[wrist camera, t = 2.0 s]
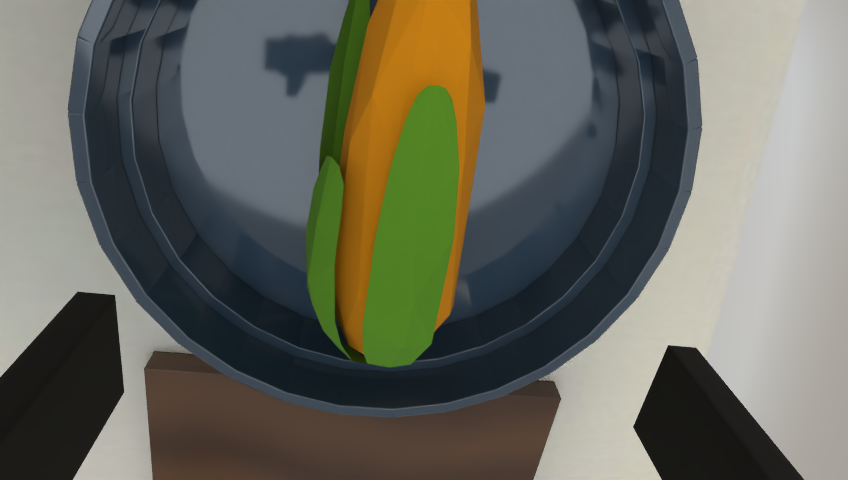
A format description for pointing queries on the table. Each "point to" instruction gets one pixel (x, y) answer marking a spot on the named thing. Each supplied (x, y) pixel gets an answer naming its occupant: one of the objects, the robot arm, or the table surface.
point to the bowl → (299, 168)
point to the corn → (395, 175)
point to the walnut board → (332, 433)
